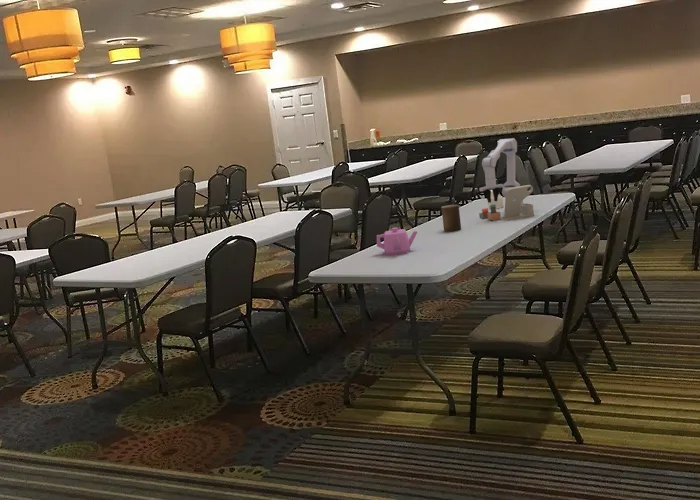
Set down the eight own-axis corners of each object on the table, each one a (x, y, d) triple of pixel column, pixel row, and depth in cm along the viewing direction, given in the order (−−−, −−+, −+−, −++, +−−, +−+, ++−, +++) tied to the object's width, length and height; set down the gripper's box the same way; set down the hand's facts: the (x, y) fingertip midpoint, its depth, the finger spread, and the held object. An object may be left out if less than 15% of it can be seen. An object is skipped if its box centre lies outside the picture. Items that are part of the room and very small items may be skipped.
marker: (498, 218, 420) (496, 204, 419) (493, 219, 419) (491, 205, 418) (495, 217, 423) (493, 204, 422) (490, 218, 422) (488, 205, 420)
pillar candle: (460, 230, 399) (458, 203, 397) (443, 232, 401) (440, 205, 399) (461, 227, 408) (459, 201, 406) (444, 229, 411) (441, 203, 408)
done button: (486, 212, 432) (486, 208, 431) (489, 213, 429) (488, 208, 428) (481, 213, 431) (481, 208, 431) (483, 214, 428) (483, 209, 427)
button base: (488, 216, 434) (487, 211, 433) (492, 217, 428) (491, 212, 428) (479, 218, 433) (479, 213, 432) (483, 219, 427) (482, 214, 427)
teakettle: (396, 247, 376) (393, 224, 374) (421, 248, 364) (418, 224, 361) (373, 255, 365) (370, 231, 362) (398, 256, 352) (395, 231, 350)
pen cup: (496, 218, 424) (496, 211, 423) (500, 219, 419) (500, 212, 418) (488, 219, 423) (487, 212, 422) (491, 220, 418) (491, 213, 417)
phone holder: (527, 213, 425) (524, 183, 422) (536, 215, 415) (533, 184, 412) (500, 218, 421) (497, 188, 418) (508, 220, 411) (505, 189, 408)
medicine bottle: (493, 207, 468) (491, 188, 466) (503, 206, 463) (501, 188, 461) (488, 209, 462) (486, 190, 460) (499, 208, 458) (497, 190, 456)
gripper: (497, 176, 423) (499, 199, 425) (475, 180, 418) (478, 203, 420) (504, 176, 416) (506, 199, 419) (482, 180, 411) (484, 204, 414)
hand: (492, 201), depth 419 cm, fingers open, 4 cm apart
